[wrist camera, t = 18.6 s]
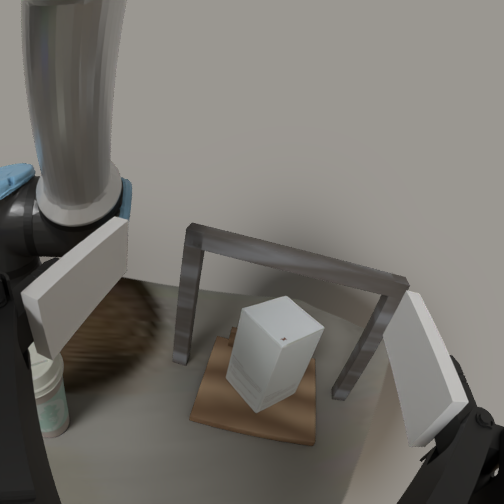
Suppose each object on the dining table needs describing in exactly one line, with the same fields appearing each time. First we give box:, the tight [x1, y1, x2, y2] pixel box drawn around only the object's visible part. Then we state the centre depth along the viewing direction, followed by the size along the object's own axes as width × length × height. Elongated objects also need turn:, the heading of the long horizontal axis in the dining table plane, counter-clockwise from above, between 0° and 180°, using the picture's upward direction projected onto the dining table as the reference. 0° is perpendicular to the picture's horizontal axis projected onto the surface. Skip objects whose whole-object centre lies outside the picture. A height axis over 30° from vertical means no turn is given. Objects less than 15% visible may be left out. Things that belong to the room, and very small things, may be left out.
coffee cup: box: [28, 342, 70, 438], centre depth 27 cm, size 8×8×12 cm
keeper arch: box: [173, 223, 410, 446], centre depth 38 cm, size 16×26×21 cm, turn 82°
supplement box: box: [226, 296, 324, 413], centre depth 40 cm, size 7×7×13 cm
